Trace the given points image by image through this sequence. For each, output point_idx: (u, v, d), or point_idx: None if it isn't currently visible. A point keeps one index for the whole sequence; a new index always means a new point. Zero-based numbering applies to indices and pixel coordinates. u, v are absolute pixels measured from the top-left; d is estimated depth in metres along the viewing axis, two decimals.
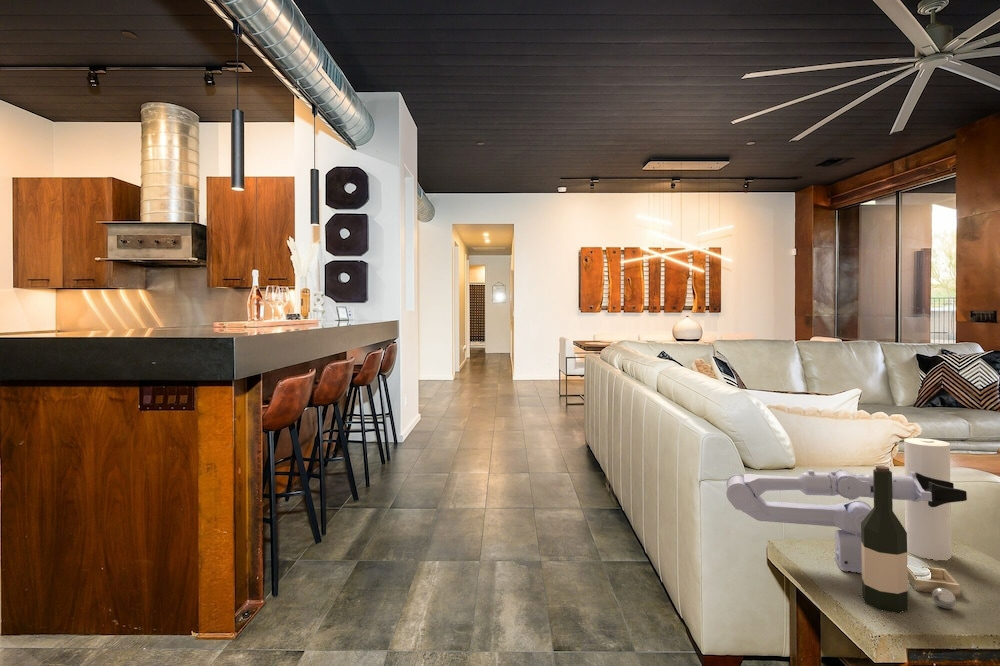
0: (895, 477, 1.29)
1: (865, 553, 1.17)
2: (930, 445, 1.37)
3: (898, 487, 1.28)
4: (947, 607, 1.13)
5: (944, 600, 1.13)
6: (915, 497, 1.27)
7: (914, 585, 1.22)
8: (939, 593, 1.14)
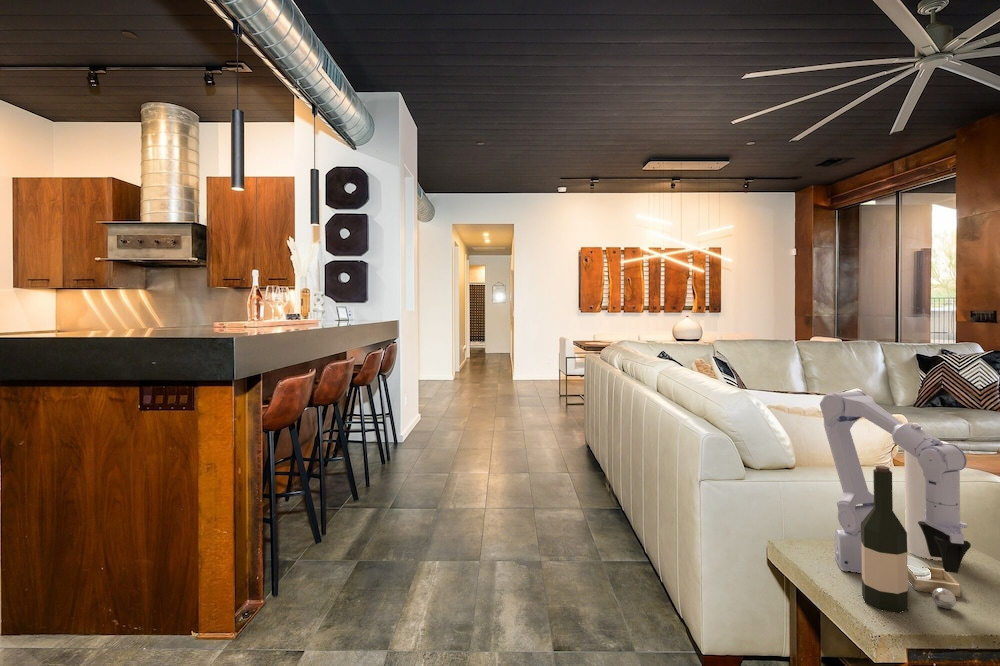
0: (959, 508, 1.12)
1: (865, 553, 1.17)
2: None
3: (950, 510, 1.11)
4: (947, 607, 1.13)
5: (944, 600, 1.13)
6: (938, 524, 1.12)
7: (914, 585, 1.22)
8: (939, 593, 1.14)
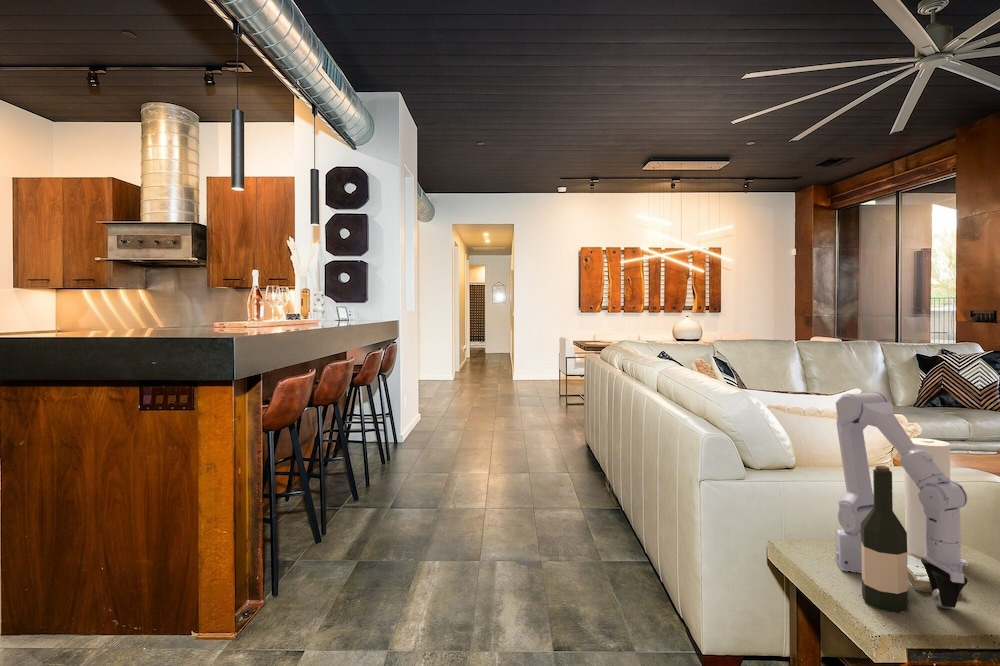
0: (960, 546, 1.12)
1: (865, 553, 1.17)
2: (930, 445, 1.37)
3: (951, 548, 1.12)
4: (947, 607, 1.13)
5: None
6: (939, 562, 1.12)
7: (914, 585, 1.22)
8: None
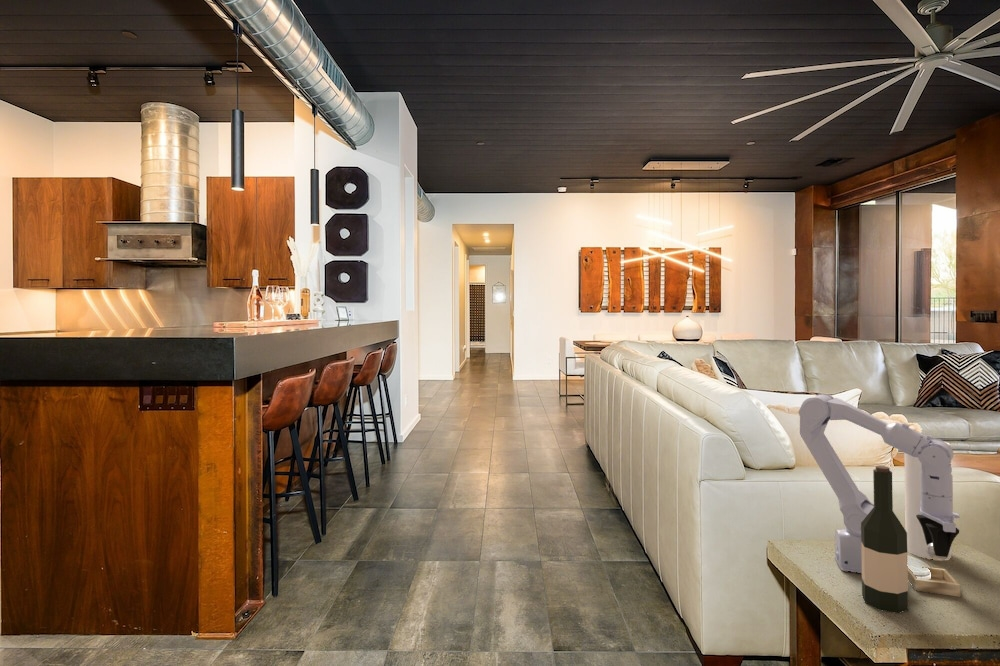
0: (952, 500, 1.21)
1: (865, 553, 1.17)
2: None
3: (944, 501, 1.20)
4: (941, 558, 1.21)
5: None
6: (933, 515, 1.21)
7: (914, 585, 1.22)
8: (932, 545, 1.22)
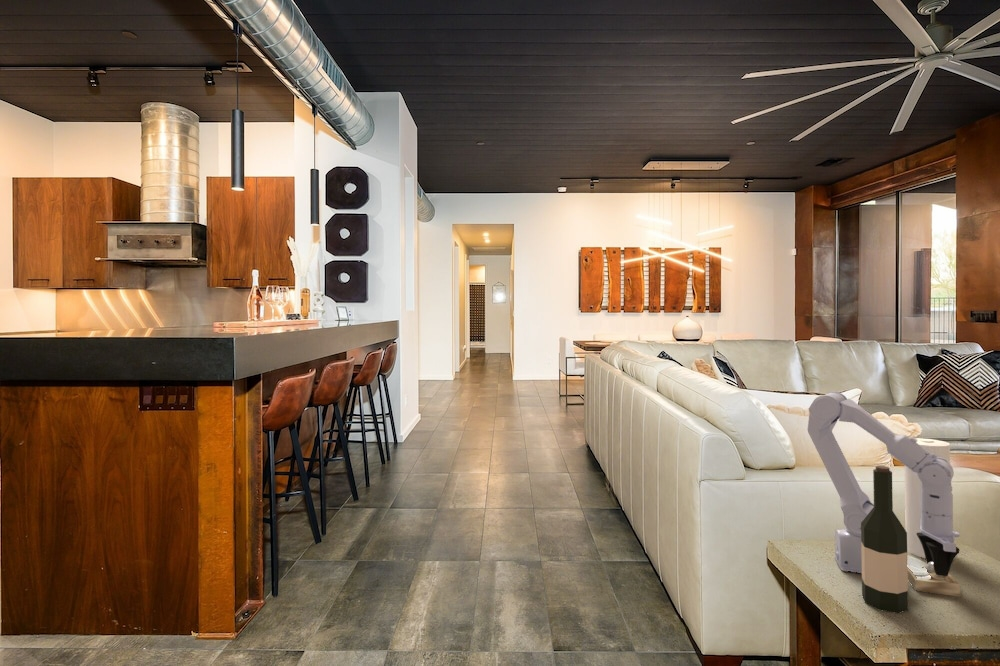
0: (952, 519, 1.21)
1: (865, 553, 1.17)
2: (930, 445, 1.37)
3: (944, 520, 1.20)
4: (941, 577, 1.21)
5: None
6: (933, 534, 1.21)
7: (914, 585, 1.22)
8: None
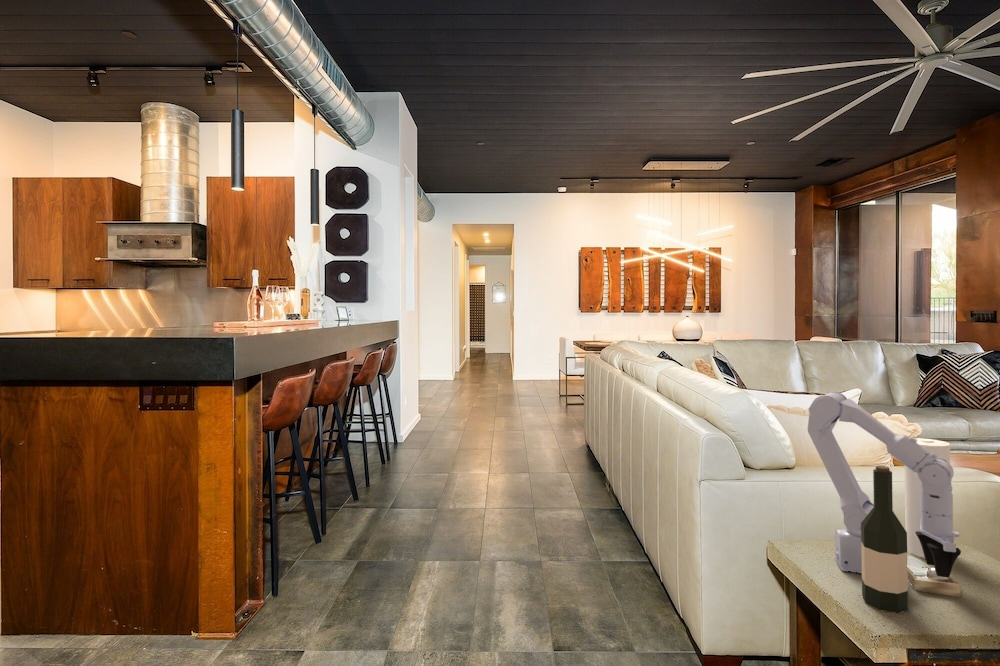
0: (952, 519, 1.21)
1: (865, 553, 1.17)
2: (930, 445, 1.37)
3: (944, 520, 1.20)
4: None
5: (938, 576, 1.21)
6: (933, 534, 1.21)
7: (914, 585, 1.22)
8: (933, 571, 1.22)
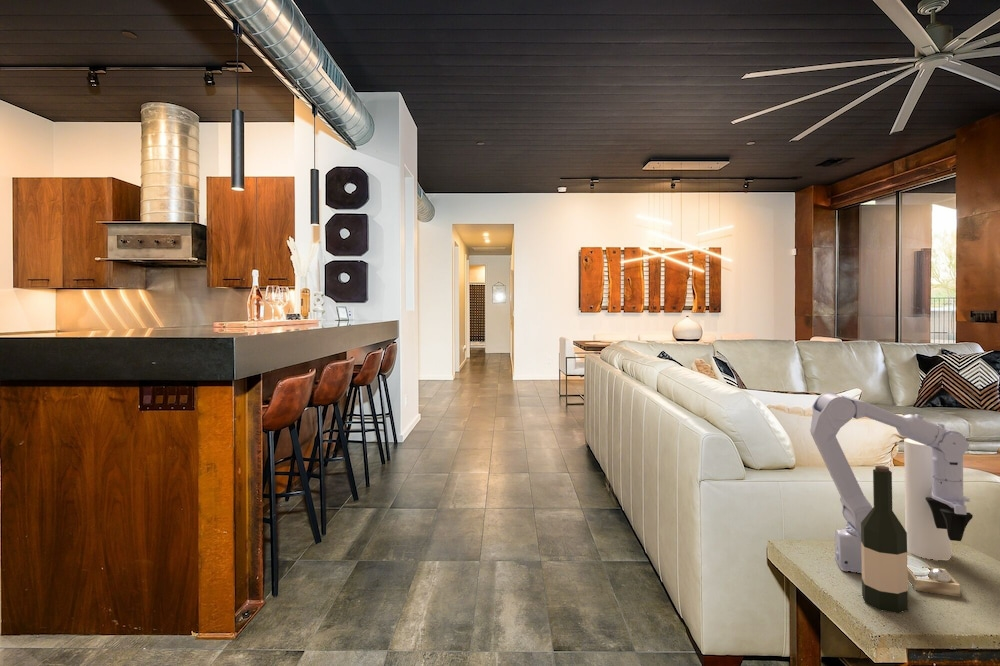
0: None
1: (865, 553, 1.17)
2: None
3: (955, 485, 1.26)
4: None
5: None
6: (944, 499, 1.27)
7: (914, 585, 1.22)
8: (936, 576, 1.21)
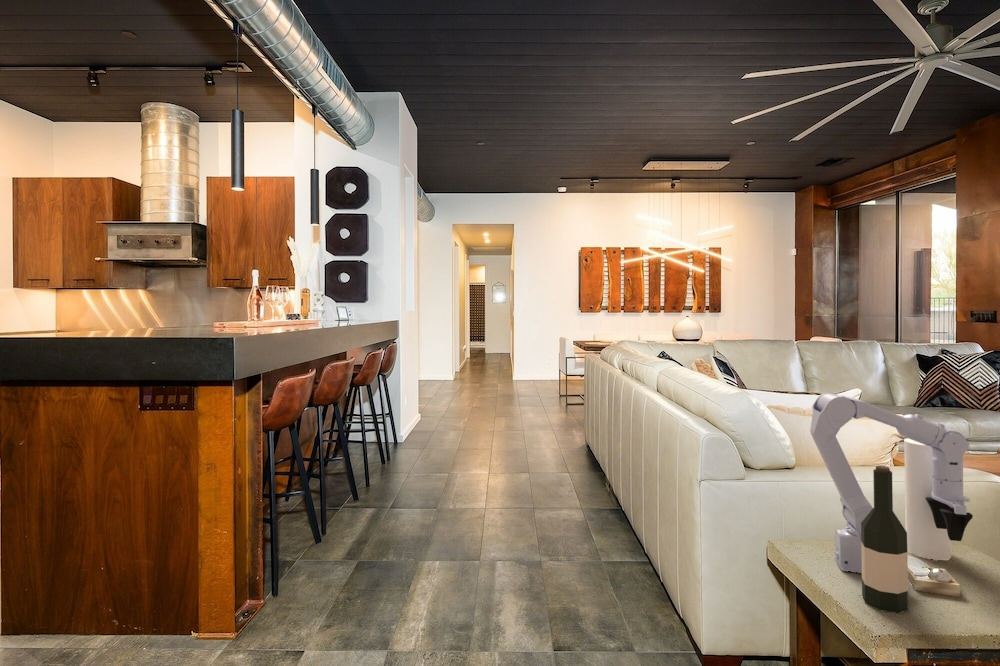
0: None
1: (865, 553, 1.17)
2: None
3: (955, 485, 1.26)
4: None
5: None
6: (944, 499, 1.27)
7: (914, 585, 1.22)
8: (936, 576, 1.21)
